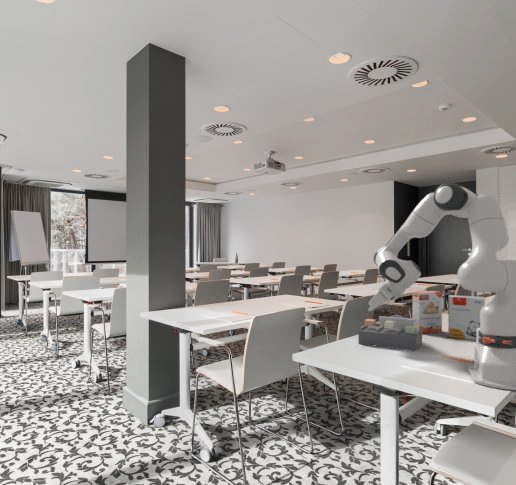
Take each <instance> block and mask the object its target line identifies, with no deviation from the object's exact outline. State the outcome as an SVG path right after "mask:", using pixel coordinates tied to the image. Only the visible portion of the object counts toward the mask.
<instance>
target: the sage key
mask: <svg viewBox="0 0 516 485" xmlns="http://www.w3.org/2000/svg"><path fill="white" fill-rule="evenodd" d="M416 332H417V326H406V327H405V333H409V334H415V333H416Z"/></svg>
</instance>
